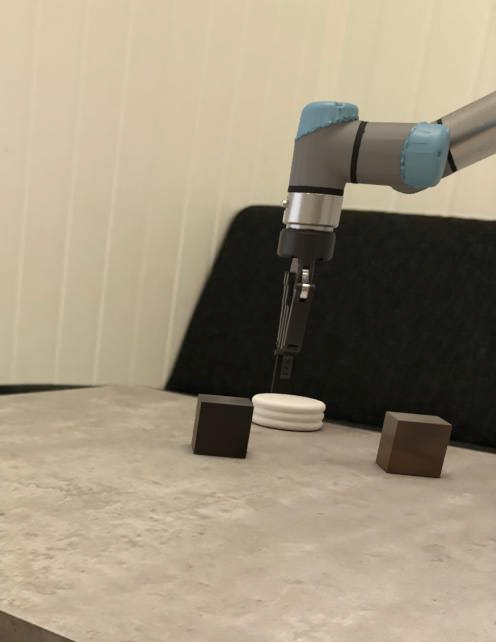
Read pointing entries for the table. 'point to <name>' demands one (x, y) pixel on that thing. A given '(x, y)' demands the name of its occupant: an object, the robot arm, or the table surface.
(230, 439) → the dark brown cube
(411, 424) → the dark brown wooden cube
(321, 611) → the table surface
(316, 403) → the white stacked disc
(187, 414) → the table surface
